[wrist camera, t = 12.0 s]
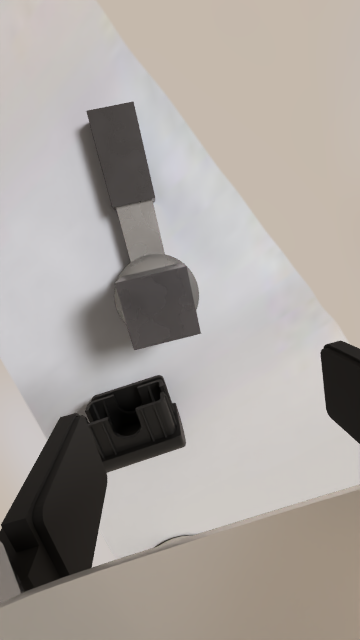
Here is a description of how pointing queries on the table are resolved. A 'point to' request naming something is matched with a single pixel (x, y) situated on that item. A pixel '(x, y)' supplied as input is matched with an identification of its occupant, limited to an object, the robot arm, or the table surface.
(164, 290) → the matte grey cube
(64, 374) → the table surface
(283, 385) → the table surface
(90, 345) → the table surface
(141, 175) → the ratchet
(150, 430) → the end cap
